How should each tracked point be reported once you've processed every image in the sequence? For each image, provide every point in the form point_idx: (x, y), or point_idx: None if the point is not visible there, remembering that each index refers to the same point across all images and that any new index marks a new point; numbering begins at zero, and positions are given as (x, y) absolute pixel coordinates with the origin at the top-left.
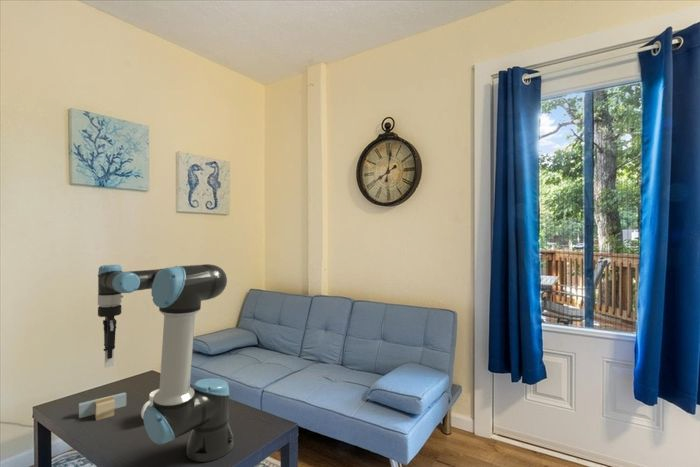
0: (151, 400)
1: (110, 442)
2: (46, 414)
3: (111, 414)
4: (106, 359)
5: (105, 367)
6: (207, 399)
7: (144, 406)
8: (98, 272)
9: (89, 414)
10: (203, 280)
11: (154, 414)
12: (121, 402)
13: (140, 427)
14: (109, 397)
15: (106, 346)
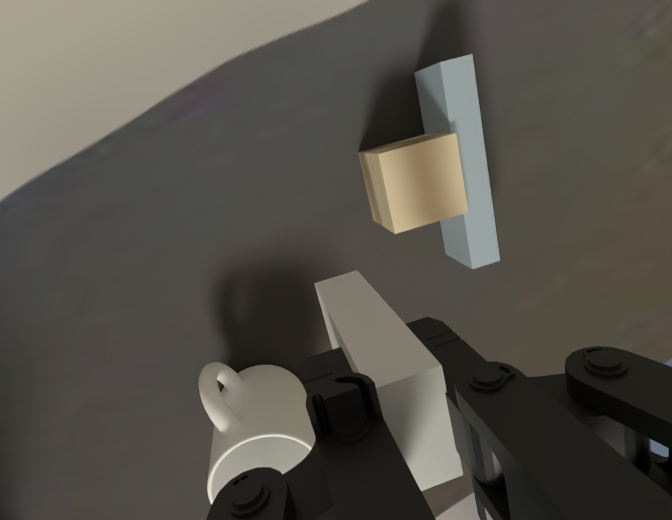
0: (226, 437)
1: (117, 246)
2: None
3: (373, 210)
4: (336, 330)
5: (316, 285)
6: None
7: (204, 401)
8: None
9: (423, 113)
10: None
11: None
12: (452, 241)
13: (209, 339)
14: (452, 201)
15: (327, 496)
